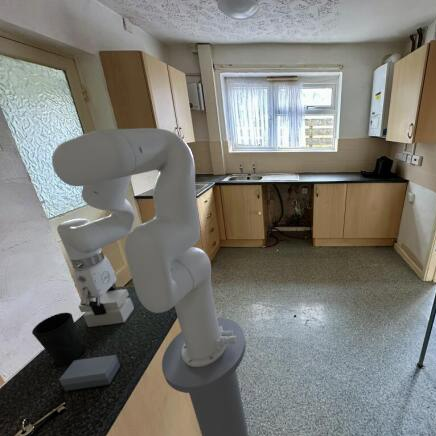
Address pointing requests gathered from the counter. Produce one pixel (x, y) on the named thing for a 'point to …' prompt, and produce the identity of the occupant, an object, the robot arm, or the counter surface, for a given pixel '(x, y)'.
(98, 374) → the blue-grey flat block
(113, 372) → the blue-grey rectangular block
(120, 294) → the flat grey box
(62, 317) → the cup
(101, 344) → the counter surface
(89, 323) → the white book
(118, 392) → the counter surface
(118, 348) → the counter surface
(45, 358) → the counter surface
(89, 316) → the white book
